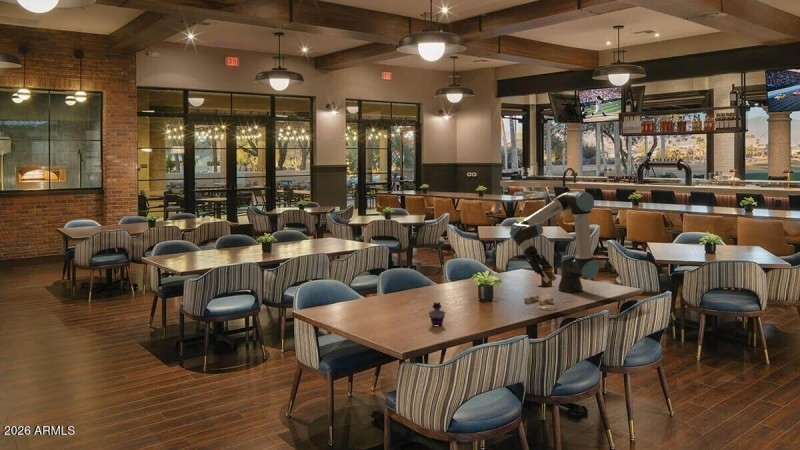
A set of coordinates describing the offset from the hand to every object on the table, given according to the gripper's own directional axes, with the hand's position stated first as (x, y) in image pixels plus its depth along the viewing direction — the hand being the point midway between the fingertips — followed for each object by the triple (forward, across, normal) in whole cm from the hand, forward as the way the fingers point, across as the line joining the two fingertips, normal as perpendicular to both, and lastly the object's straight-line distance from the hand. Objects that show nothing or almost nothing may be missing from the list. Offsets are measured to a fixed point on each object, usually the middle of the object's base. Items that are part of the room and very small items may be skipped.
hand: (551, 280), depth 359 cm
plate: (+9, 0, -14) cm, 17 cm away
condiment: (0, +1, -5) cm, 5 cm away
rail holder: (+1, -8, -22) cm, 23 cm away
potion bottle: (-2, +70, -26) cm, 75 cm away
